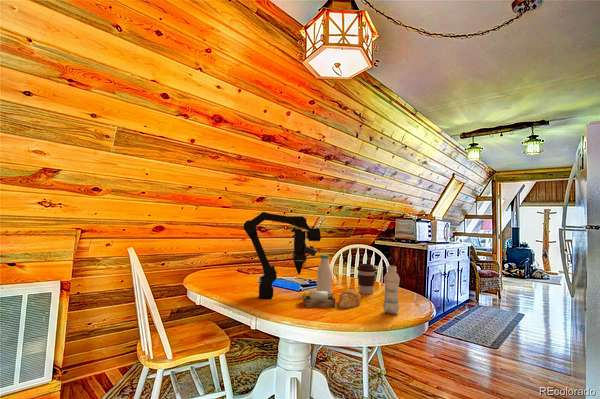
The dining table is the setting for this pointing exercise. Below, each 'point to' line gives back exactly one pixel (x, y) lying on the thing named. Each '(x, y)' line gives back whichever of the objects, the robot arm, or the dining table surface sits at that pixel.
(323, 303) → the tray
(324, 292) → the roll
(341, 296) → the croissant
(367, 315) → the dining table surface
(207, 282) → the dining table surface
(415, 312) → the dining table surface
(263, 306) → the dining table surface
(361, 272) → the coffee cup
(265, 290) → the robot arm
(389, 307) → the plastic bottle
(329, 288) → the milk bottle
